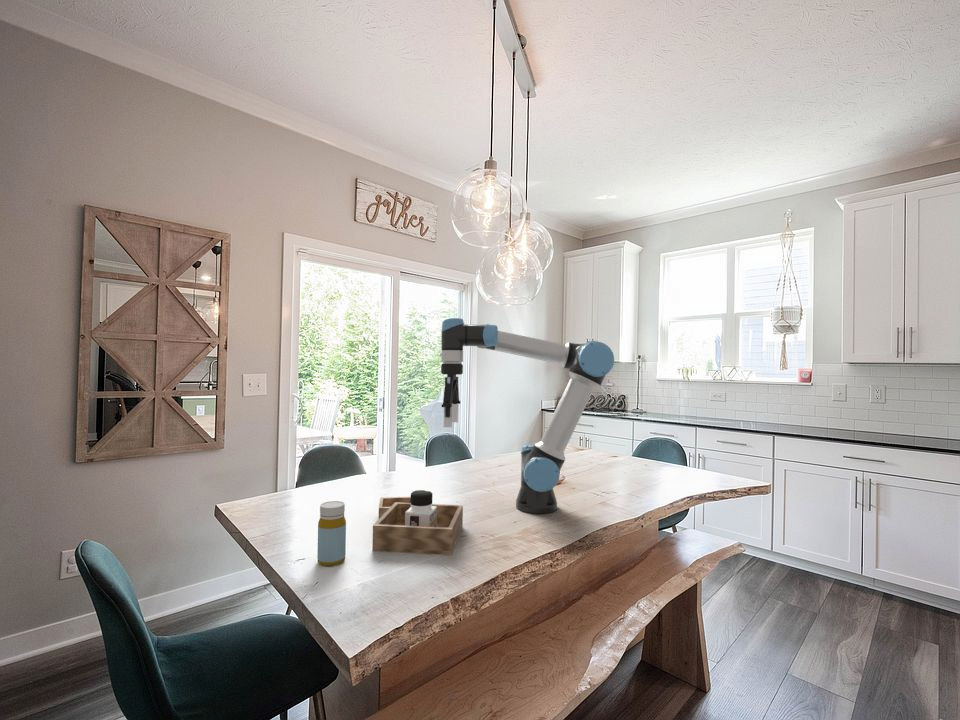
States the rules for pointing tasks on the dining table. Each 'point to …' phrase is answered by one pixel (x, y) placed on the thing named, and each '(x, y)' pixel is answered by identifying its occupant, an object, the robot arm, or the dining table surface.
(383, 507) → the small crate
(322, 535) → the bottle
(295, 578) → the dining table surface
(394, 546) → the crate
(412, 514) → the container
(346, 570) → the dining table surface
